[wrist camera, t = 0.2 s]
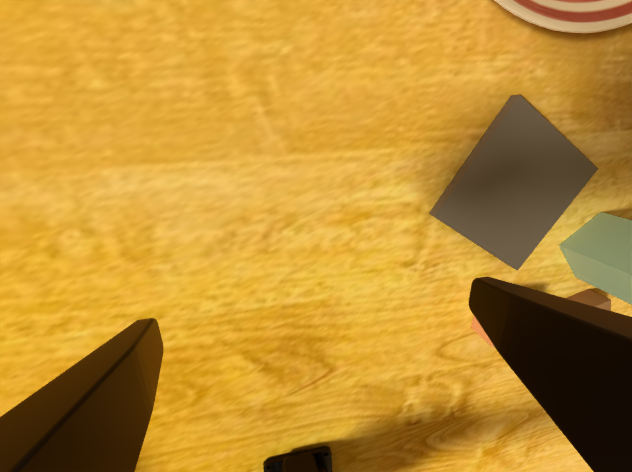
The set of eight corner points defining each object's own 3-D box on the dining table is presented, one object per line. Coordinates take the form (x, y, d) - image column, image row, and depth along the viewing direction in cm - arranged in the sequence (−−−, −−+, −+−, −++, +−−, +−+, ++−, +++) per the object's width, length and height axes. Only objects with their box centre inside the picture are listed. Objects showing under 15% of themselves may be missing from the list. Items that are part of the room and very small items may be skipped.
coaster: (510, 266, 28) (517, 270, 28) (429, 213, 25) (434, 216, 24) (588, 167, 26) (598, 168, 26) (511, 95, 23) (519, 94, 22)
